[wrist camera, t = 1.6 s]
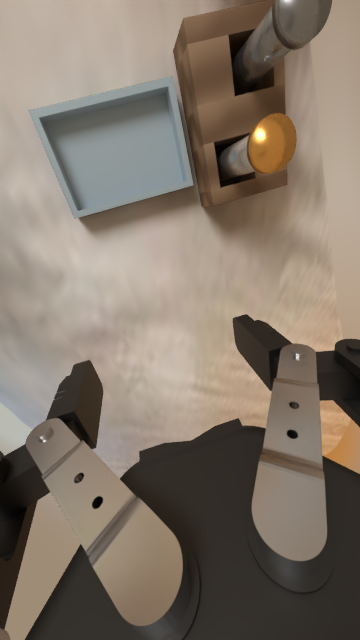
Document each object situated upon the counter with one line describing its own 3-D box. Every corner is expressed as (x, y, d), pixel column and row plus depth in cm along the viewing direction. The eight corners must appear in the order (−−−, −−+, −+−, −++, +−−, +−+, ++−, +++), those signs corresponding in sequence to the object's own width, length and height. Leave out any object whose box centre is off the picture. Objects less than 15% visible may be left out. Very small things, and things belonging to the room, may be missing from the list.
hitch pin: (202, 153, 31) (249, 119, 19) (232, 145, 31) (296, 107, 19) (208, 188, 33) (254, 177, 21) (236, 181, 33) (296, 165, 21)
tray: (36, 118, 26) (28, 110, 24) (168, 86, 27) (172, 75, 25) (78, 218, 31) (74, 218, 29) (188, 186, 32) (193, 185, 30)
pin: (213, 65, 27) (278, -40, 16) (246, 57, 28) (334, -52, 16) (219, 111, 29) (281, 47, 18) (250, 103, 29) (330, 35, 18)
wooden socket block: (173, 50, 26) (183, 18, 22) (256, 31, 27) (282, -4, 22) (201, 206, 33) (213, 205, 29) (266, 187, 34) (287, 184, 30)
